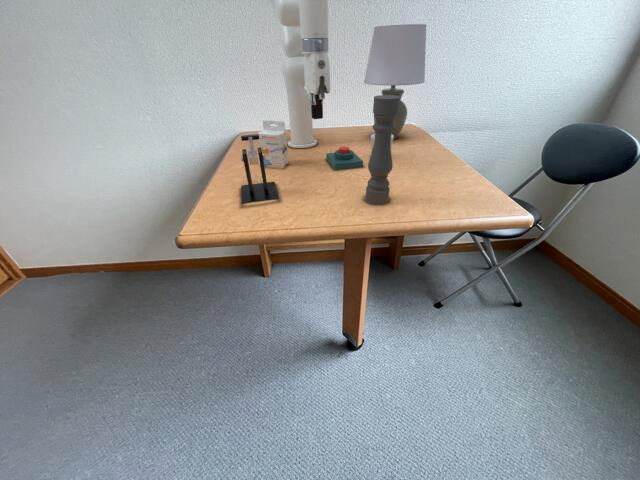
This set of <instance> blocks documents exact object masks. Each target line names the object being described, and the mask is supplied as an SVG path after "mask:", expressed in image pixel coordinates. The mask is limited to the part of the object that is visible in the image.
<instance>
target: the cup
mask: <svg viewBox="0 0 640 480" xmlns="http://www.w3.org/2000/svg"><path fill="white" fill-rule="evenodd" d="M393 138H394V136H393V135H391V144H390V146H391V148H393V142H394V139H393ZM374 141H375V133H372V134H371V135H370V149H371V150H370V152H371V153H372V150H373V147H374ZM371 153H370V154H371Z"/></svg>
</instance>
